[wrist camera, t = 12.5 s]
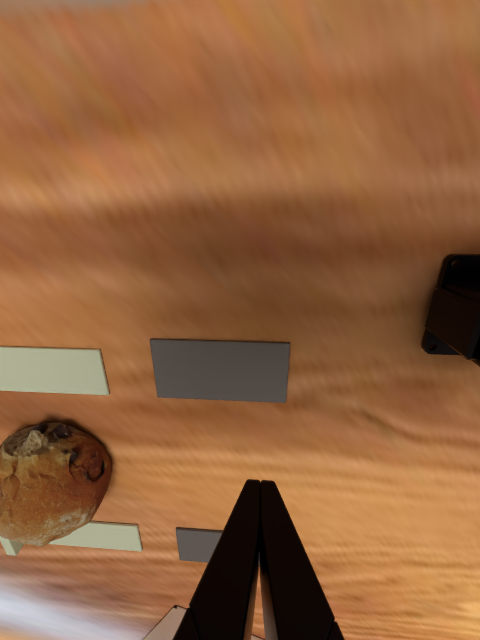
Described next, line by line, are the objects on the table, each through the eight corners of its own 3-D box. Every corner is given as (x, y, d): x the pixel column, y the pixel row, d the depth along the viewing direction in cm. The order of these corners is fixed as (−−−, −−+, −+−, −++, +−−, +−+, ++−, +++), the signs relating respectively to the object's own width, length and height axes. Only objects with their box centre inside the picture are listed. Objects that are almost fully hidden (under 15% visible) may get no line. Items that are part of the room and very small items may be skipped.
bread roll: (32, 427, 30) (-43, 513, 24) (25, 394, 23) (-84, 506, 17) (116, 470, 31) (64, 560, 26) (136, 452, 24) (68, 572, 19)
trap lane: (289, 342, 20) (291, 353, 19) (274, 565, 30) (274, 583, 28) (-78, 332, 22) (-101, 340, 20) (21, 544, 32) (10, 560, 30)
